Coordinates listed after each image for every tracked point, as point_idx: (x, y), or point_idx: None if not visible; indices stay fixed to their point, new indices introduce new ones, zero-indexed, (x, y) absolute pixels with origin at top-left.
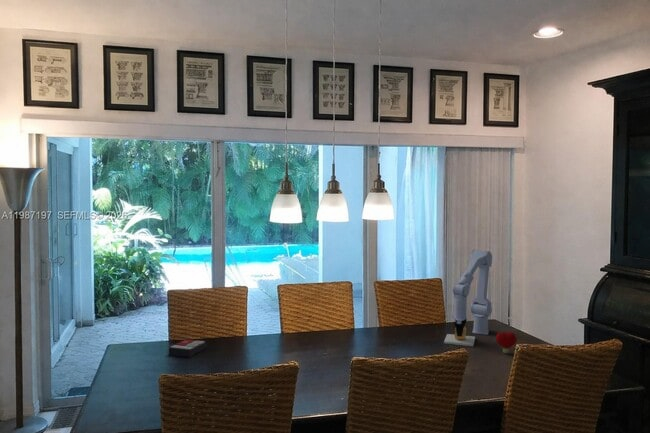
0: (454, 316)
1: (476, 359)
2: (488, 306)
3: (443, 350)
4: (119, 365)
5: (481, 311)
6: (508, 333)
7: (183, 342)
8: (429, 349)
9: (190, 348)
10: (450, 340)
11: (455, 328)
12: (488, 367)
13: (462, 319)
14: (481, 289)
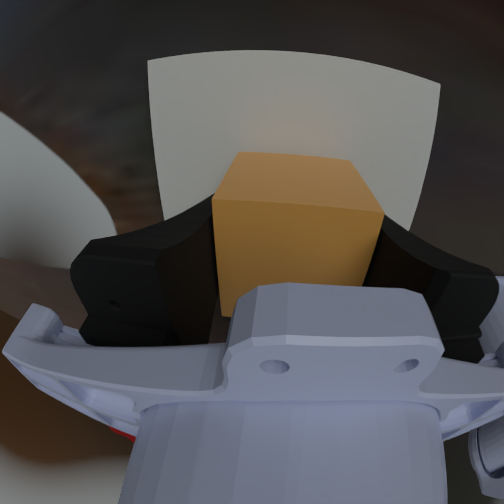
0: (254, 398)
1: (28, 272)
2: (478, 475)
3: (24, 118)
4: None
5: (500, 431)
6: (133, 439)
7: None
8: (14, 45)
9: None
10: (201, 109)
11: (222, 204)
12: (12, 294)
13: (98, 417)
14: None
